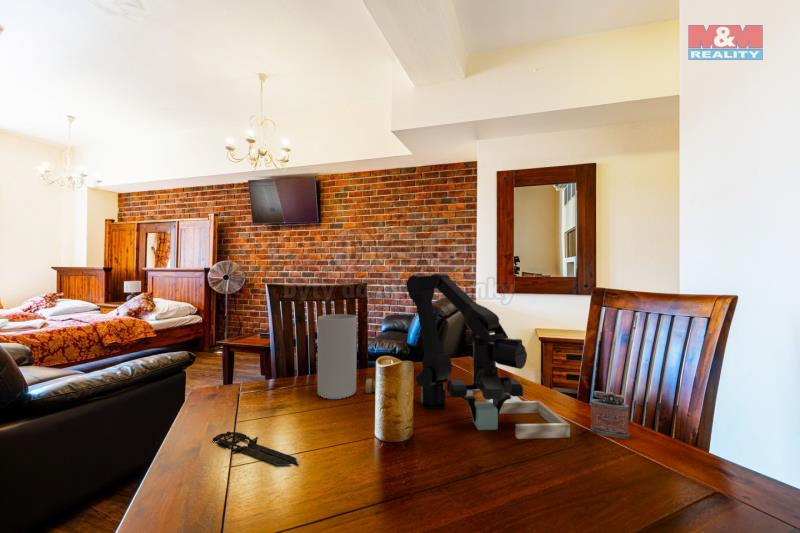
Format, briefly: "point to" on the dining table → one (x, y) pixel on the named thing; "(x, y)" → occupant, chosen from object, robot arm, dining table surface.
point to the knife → (255, 446)
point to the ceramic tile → (513, 398)
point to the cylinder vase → (337, 356)
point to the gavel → (370, 386)
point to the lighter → (609, 415)
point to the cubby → (547, 430)
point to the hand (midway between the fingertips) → (484, 420)
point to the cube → (486, 416)
